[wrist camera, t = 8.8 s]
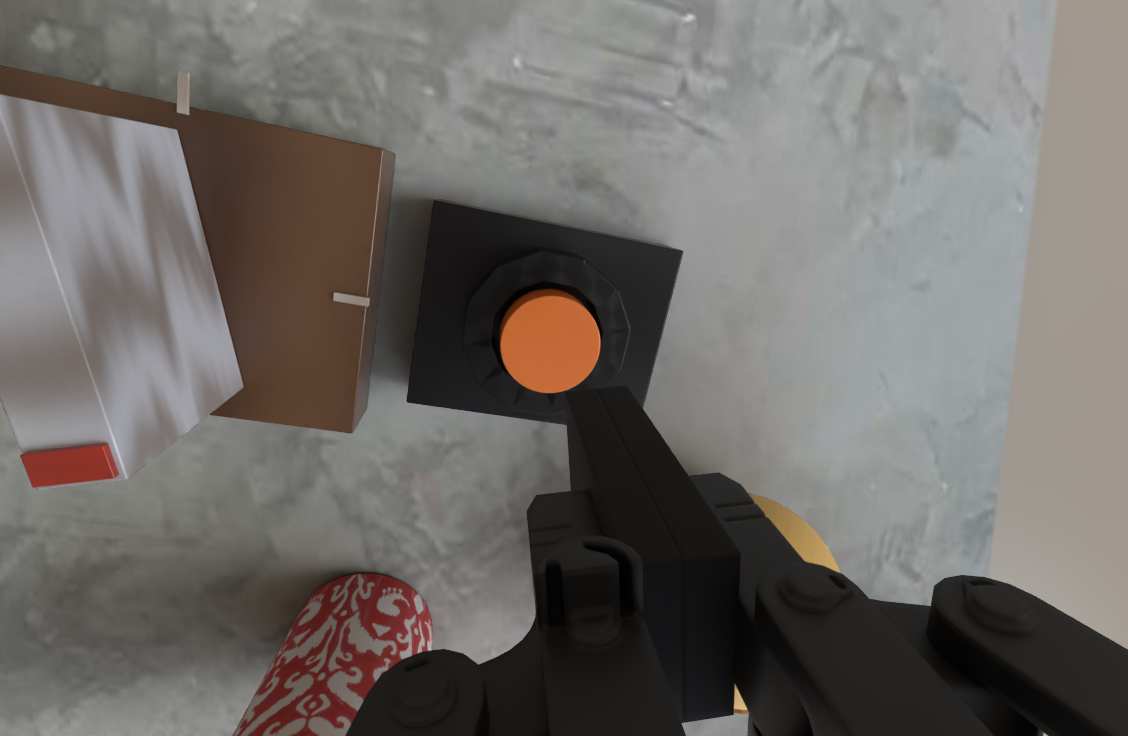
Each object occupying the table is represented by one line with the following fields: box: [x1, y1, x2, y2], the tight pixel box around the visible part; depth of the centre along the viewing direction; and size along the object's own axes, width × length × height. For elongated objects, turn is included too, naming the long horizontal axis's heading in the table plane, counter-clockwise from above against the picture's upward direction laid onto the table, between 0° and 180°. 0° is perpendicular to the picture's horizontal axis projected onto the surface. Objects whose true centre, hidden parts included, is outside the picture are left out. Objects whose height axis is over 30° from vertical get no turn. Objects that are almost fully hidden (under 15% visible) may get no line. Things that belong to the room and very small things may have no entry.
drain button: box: [500, 289, 601, 393], centre depth 23 cm, size 4×4×2 cm
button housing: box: [407, 199, 683, 425], centre depth 25 cm, size 11×9×4 cm
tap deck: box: [0, 65, 396, 437], centre depth 23 cm, size 14×14×3 cm
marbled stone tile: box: [0, 94, 244, 490], centre depth 18 cm, size 10×2×8 cm, turn 4°
